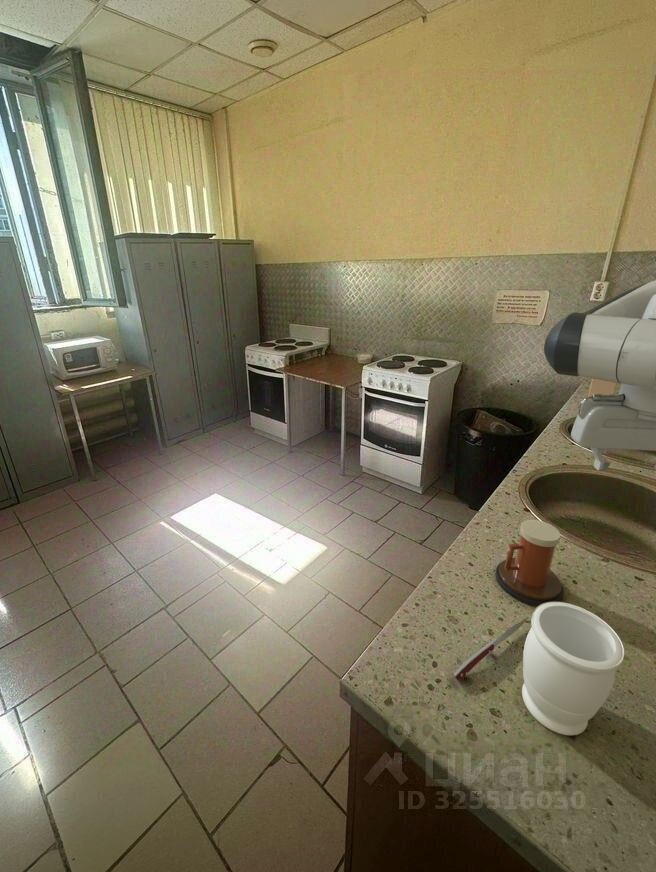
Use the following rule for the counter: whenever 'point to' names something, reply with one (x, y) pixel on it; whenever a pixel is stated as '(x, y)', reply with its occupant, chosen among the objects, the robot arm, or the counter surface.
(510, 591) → the base
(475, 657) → the knife
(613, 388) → the soap dispenser
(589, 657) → the jar
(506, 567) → the coffee mug with lid
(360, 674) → the counter surface
